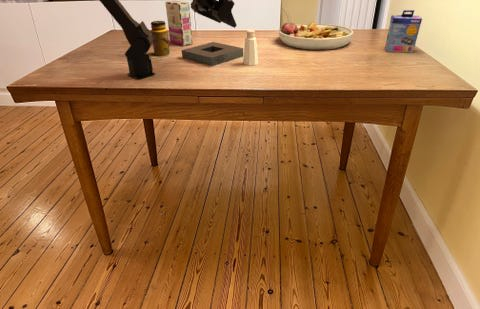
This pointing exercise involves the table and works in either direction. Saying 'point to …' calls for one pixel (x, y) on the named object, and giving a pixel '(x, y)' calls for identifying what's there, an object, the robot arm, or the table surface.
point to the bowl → (315, 36)
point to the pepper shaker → (250, 49)
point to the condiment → (160, 40)
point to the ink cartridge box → (403, 32)
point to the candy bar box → (179, 22)
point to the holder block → (212, 53)
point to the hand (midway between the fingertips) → (228, 24)
